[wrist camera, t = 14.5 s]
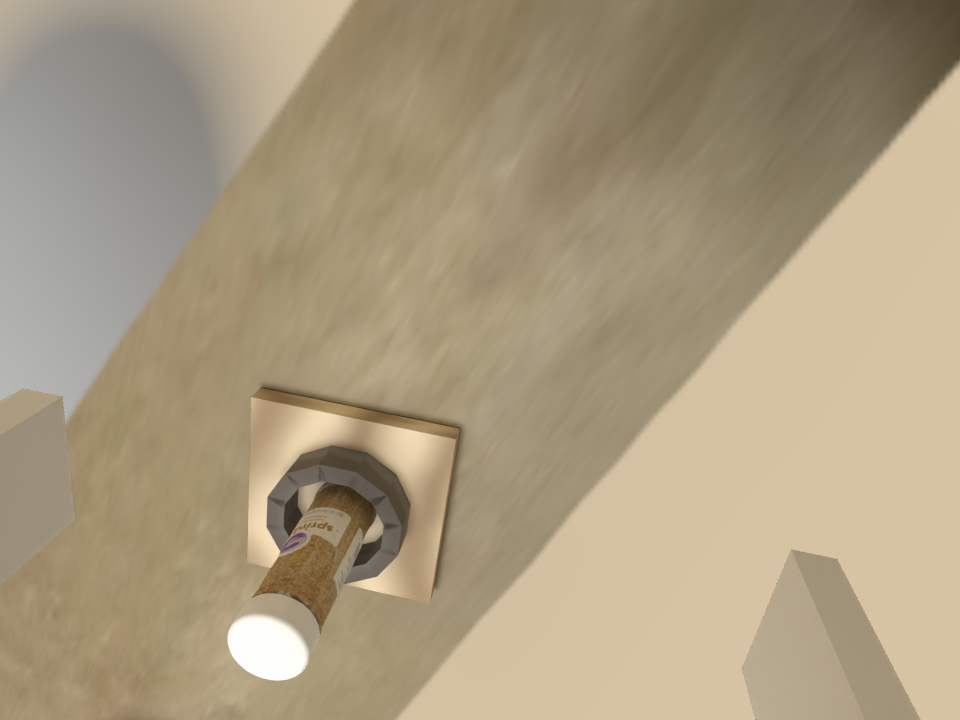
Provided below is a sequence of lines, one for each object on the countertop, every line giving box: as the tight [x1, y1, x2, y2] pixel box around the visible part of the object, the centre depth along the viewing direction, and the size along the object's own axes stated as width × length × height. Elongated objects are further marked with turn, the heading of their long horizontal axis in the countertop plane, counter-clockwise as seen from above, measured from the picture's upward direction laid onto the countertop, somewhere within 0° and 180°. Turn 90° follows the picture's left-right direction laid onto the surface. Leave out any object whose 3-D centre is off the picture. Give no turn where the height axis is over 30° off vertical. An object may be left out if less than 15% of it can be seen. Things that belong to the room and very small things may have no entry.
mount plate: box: [247, 388, 460, 603], centre depth 48 cm, size 14×14×4 cm
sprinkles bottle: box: [228, 482, 376, 680], centre depth 42 cm, size 5×5×13 cm
